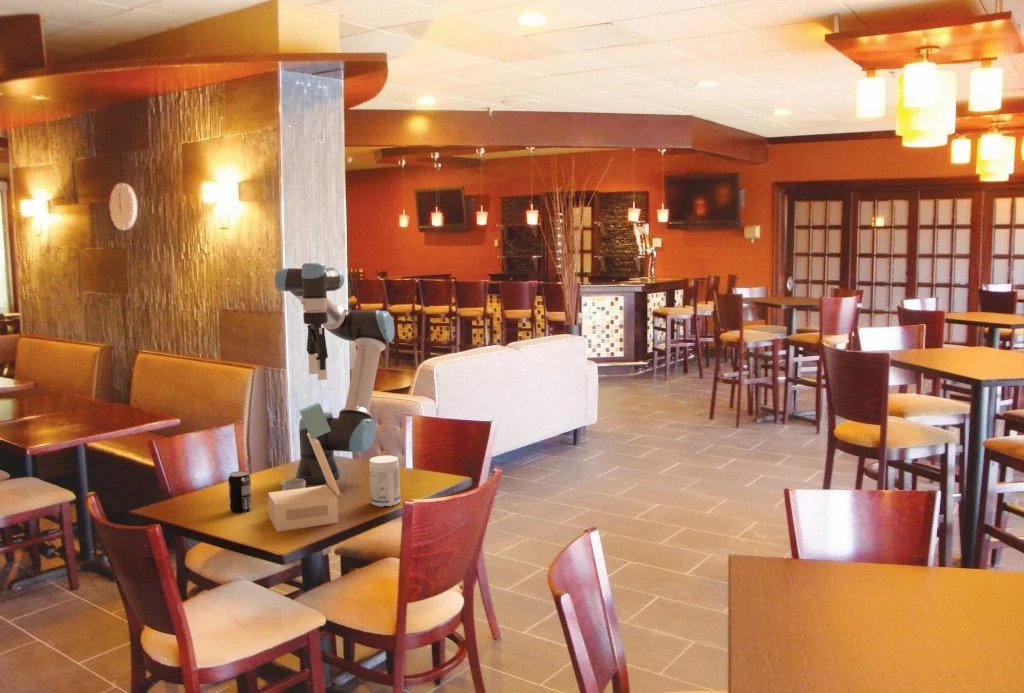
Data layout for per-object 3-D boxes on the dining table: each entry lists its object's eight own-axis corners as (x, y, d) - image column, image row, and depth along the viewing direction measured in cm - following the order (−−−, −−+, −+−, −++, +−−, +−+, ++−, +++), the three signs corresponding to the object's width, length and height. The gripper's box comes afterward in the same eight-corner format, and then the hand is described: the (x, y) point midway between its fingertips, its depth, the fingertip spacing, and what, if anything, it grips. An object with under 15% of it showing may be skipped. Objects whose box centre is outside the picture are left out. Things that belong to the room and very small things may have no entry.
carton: (269, 517, 259) (268, 492, 258) (327, 509, 266) (326, 485, 265) (276, 531, 246) (275, 505, 245) (338, 522, 253) (337, 496, 252)
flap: (296, 407, 258) (314, 399, 261) (328, 485, 265) (345, 477, 267) (304, 415, 246) (324, 407, 248) (338, 497, 253) (356, 488, 255)
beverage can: (229, 508, 268) (227, 471, 267) (251, 506, 271) (249, 469, 269) (230, 514, 262) (228, 477, 261) (252, 512, 265) (250, 474, 263)
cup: (311, 505, 270) (310, 479, 269) (291, 514, 261) (290, 488, 260) (292, 503, 273) (291, 477, 272) (272, 512, 264) (270, 485, 263)
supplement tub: (390, 496, 279) (389, 453, 277) (406, 503, 272) (404, 459, 270) (364, 502, 273) (363, 458, 271) (380, 509, 266) (378, 464, 264)
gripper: (296, 309, 280) (298, 372, 282) (311, 314, 257) (314, 383, 260) (318, 308, 283) (321, 370, 285) (335, 313, 260) (338, 381, 263)
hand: (317, 376), depth 272 cm, fingers open, 13 cm apart
